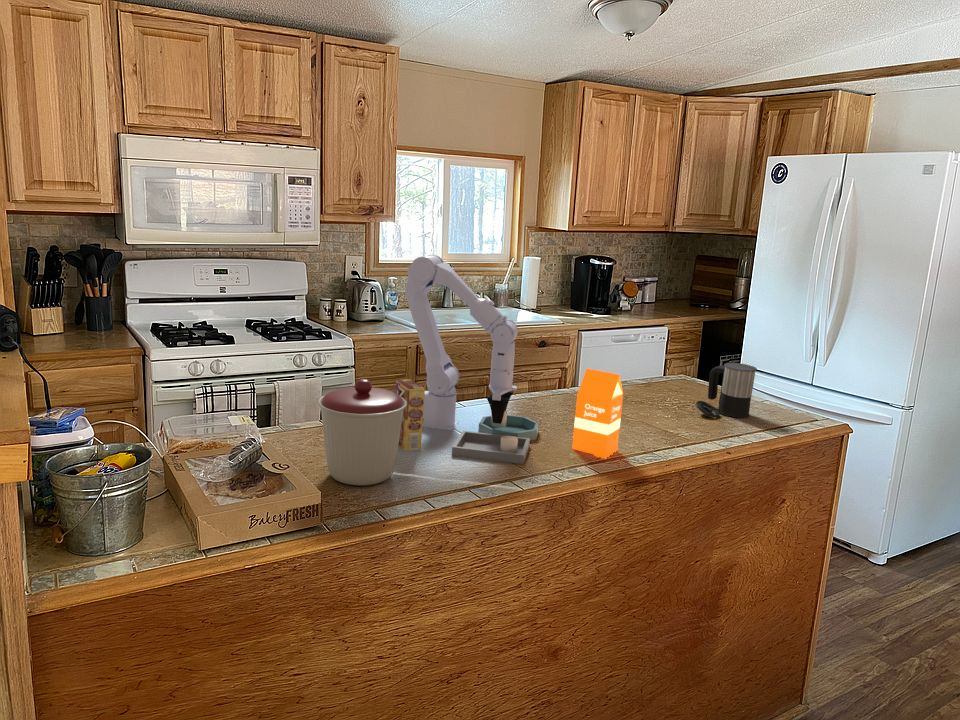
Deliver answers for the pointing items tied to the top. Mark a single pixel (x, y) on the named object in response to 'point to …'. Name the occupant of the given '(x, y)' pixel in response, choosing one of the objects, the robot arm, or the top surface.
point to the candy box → (411, 414)
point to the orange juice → (598, 413)
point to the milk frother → (730, 390)
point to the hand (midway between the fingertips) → (498, 420)
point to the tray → (488, 447)
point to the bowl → (511, 427)
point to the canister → (361, 432)
